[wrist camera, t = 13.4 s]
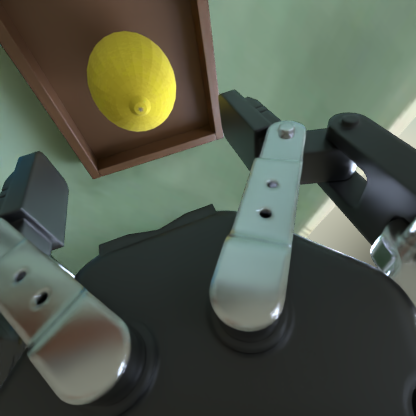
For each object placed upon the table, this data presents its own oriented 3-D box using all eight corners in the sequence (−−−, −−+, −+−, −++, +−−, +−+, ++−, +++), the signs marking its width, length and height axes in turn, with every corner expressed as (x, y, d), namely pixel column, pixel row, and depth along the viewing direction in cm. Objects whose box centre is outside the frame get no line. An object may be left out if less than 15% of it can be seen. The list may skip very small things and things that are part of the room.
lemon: (74, 71, 18) (66, 120, 13) (112, -2, 16) (121, 22, 11) (139, 113, 22) (153, 166, 16) (177, 59, 20) (207, 98, 14)
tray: (93, 163, 24) (93, 179, 23) (-56, -69, 13) (-80, -72, 11) (215, 125, 26) (223, 137, 24) (181, -119, 14) (193, -128, 12)
